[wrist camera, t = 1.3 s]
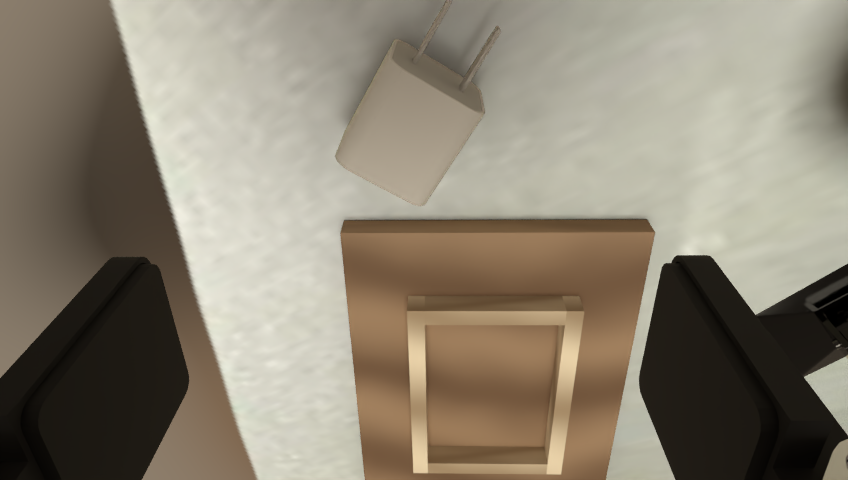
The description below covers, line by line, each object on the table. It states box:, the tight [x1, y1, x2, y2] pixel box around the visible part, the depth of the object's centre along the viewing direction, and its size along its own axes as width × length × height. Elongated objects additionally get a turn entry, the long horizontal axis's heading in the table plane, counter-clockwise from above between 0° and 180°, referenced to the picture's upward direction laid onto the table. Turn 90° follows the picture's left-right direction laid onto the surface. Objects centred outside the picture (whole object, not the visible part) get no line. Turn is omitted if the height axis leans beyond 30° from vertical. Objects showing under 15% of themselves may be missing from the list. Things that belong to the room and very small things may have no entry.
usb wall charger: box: [335, 0, 501, 206], centre depth 23 cm, size 4×7×4 cm, turn 150°
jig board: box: [340, 220, 655, 480], centre depth 31 cm, size 18×14×2 cm
